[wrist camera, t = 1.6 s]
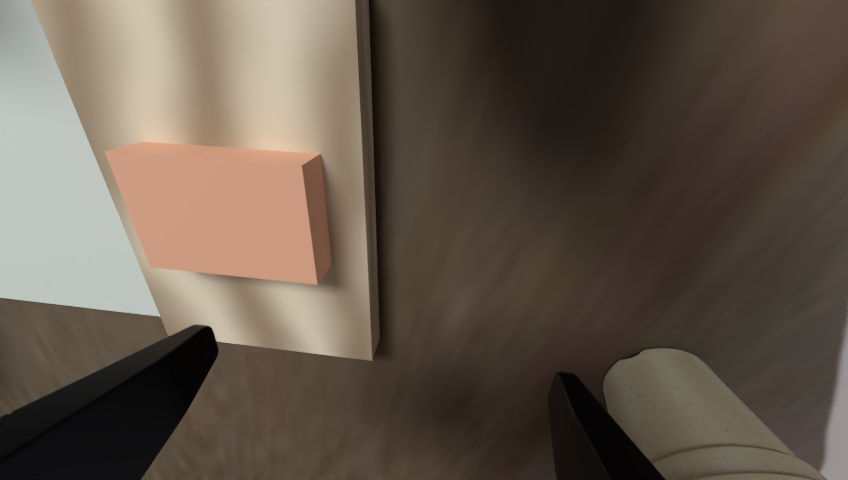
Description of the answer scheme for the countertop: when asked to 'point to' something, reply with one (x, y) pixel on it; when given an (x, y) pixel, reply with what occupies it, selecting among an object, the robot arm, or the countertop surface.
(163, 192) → the tile
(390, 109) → the countertop surface
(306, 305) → the plate
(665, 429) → the flower pot
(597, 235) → the countertop surface
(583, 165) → the countertop surface
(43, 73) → the mat
